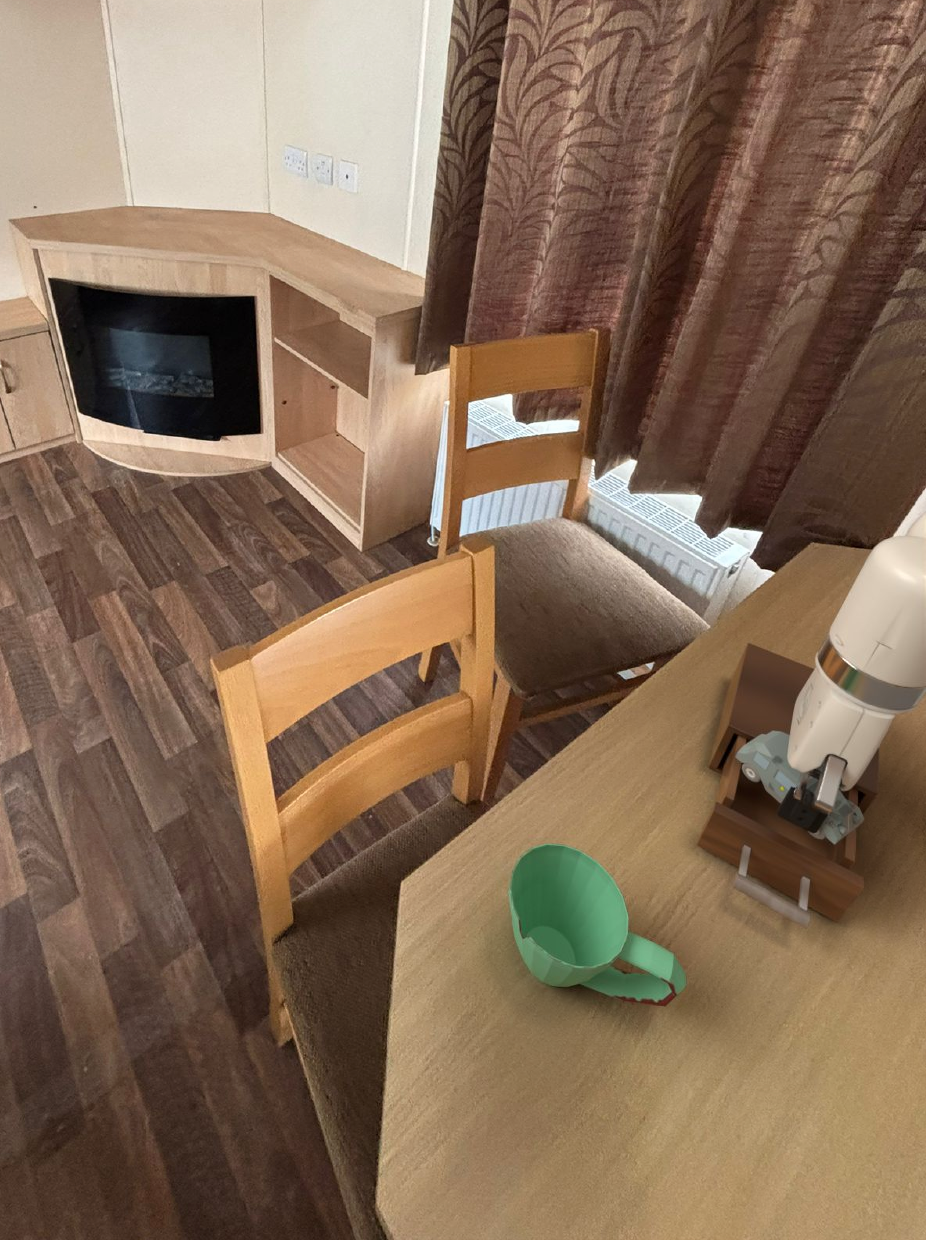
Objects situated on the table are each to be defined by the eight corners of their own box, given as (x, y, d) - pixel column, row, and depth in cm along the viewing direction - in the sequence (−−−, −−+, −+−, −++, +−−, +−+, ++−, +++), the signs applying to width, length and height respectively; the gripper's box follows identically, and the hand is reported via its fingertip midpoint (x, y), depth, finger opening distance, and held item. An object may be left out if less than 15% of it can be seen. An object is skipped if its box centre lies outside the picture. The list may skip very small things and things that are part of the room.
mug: (480, 977, 62) (494, 923, 57) (513, 878, 69) (528, 823, 64) (652, 1087, 55) (685, 1037, 50) (669, 965, 63) (699, 911, 58)
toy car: (829, 852, 63) (849, 822, 61) (731, 764, 71) (745, 735, 69) (868, 820, 66) (889, 791, 63) (770, 739, 74) (785, 709, 71)
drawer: (834, 970, 62) (862, 937, 58) (686, 884, 68) (704, 850, 65) (844, 809, 74) (868, 775, 71) (719, 750, 80) (735, 715, 77)
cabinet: (846, 838, 72) (878, 794, 68) (707, 769, 79) (728, 725, 75) (852, 739, 83) (880, 695, 78) (728, 685, 89) (748, 642, 85)
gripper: (827, 591, 67) (768, 706, 76) (812, 715, 55) (744, 835, 64) (923, 624, 63) (849, 742, 72) (930, 765, 51) (840, 886, 60)
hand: (800, 785), depth 68 cm, fingers closed on toy car, 8 cm apart
